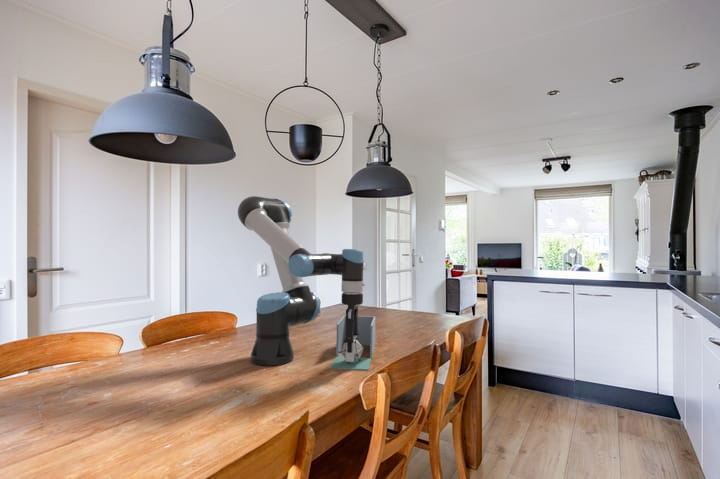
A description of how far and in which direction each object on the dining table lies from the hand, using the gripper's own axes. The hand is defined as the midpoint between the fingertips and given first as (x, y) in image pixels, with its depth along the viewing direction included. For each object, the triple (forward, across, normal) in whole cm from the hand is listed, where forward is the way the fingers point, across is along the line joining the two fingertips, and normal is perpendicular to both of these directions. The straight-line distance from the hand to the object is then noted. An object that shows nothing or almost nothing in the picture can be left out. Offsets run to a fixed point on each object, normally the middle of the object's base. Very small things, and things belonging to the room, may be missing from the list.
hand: (351, 357), depth 130 cm
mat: (+2, 0, 0) cm, 2 cm away
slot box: (+2, +16, 0) cm, 16 cm away
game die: (+2, 0, 0) cm, 2 cm away
